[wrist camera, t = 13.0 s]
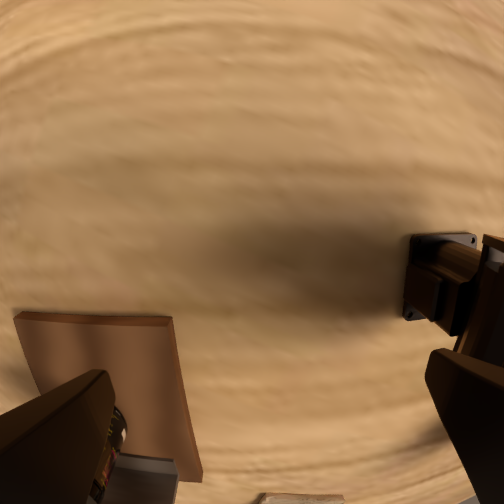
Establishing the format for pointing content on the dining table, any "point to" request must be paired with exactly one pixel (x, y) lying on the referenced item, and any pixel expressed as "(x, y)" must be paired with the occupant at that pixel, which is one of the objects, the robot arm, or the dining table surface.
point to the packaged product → (301, 499)
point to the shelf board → (124, 393)
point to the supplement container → (108, 456)
